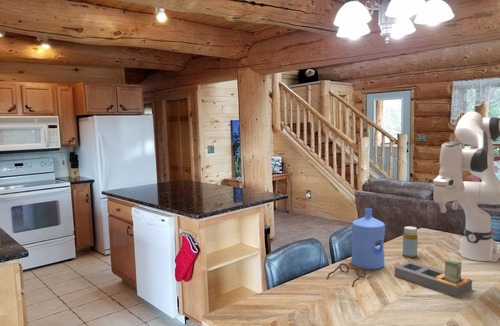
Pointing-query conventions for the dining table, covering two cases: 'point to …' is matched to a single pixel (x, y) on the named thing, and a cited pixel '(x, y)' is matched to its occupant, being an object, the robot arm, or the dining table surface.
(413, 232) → the lidded canister
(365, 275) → the glasses
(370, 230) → the water jug
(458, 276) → the peg
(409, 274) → the board
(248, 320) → the dining table surface
